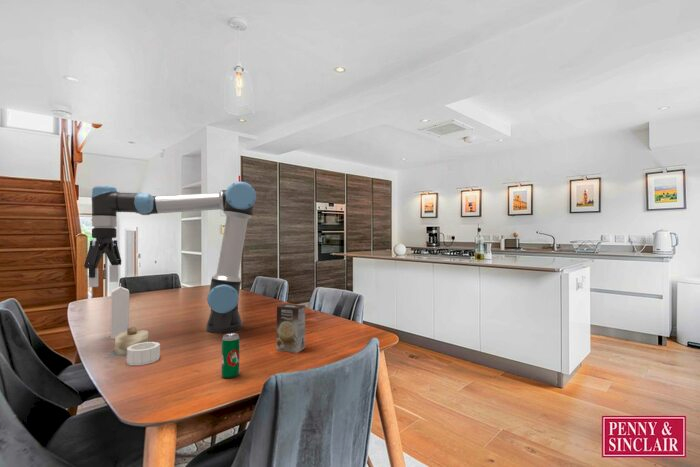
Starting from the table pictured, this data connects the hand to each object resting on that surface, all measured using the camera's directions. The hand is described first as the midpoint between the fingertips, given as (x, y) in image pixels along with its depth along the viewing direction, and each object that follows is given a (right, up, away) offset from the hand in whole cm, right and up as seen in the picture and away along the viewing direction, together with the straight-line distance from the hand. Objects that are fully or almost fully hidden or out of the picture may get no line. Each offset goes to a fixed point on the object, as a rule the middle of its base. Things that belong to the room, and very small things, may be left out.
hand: (104, 284), depth 126 cm
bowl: (+24, -23, -15) cm, 37 cm away
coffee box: (+70, -24, -2) cm, 74 cm away
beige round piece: (+14, -23, -6) cm, 28 cm away
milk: (-3, -24, +12) cm, 27 cm away
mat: (+14, -23, -6) cm, 28 cm away
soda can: (+57, -23, -26) cm, 67 cm away
